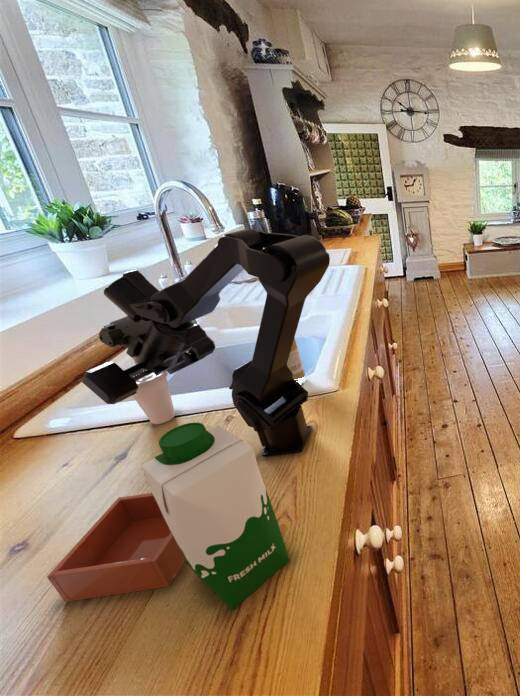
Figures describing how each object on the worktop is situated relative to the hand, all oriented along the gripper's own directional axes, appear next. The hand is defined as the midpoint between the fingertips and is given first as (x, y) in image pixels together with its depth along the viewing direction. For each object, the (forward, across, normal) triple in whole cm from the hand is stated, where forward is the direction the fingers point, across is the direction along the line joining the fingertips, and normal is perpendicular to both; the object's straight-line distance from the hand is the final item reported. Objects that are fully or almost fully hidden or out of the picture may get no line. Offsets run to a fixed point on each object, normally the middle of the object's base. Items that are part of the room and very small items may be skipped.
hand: (144, 384), depth 77 cm
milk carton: (-25, +21, +36) cm, 48 cm away
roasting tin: (-15, +22, +25) cm, 37 cm away
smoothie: (+5, 0, +6) cm, 8 cm away
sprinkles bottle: (-7, -16, +18) cm, 25 cm away
